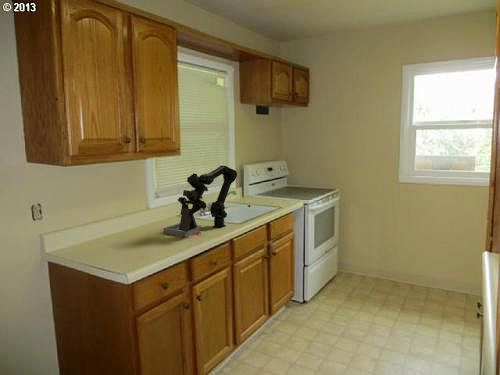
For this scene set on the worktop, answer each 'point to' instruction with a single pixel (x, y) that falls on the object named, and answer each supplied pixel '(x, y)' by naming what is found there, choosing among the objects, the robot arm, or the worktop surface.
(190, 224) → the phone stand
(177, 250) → the worktop surface
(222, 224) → the robot arm
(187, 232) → the tray
